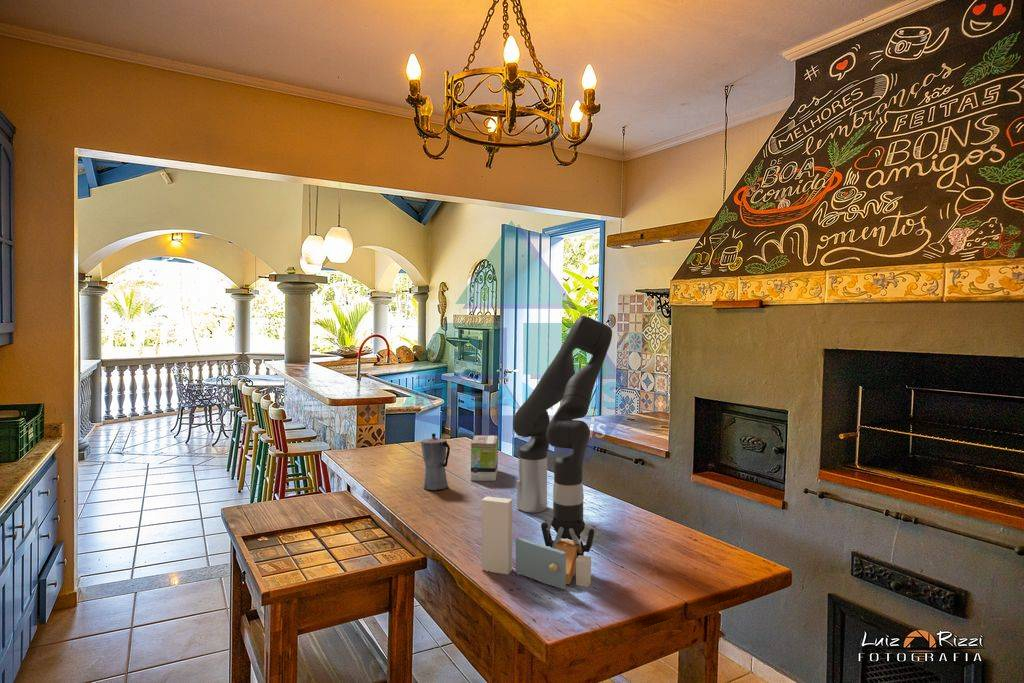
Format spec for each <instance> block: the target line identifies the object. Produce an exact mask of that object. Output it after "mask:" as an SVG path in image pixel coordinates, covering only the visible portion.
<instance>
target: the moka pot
mask: <svg viewBox="0 0 1024 683" xmlns="http://www.w3.org/2000/svg"><path fill="white" fill-rule="evenodd" d="M436 435H437V433H435V432H434V433H431V437H430V438H424V439H422V440H421V441H420V445H421V451H422V457H423V462H424V467H425V468H424V477H423V489H424V488H425V490H428V491H438V490H445V489H447V488H448V487H449V486H448V485H449V484H448V480H447V478H448V477H447V473H446V467H448V460H449V457H450V450H451V446H450V445H449V444H448V441H447V440H446V439H445V438H439V437H436Z"/></svg>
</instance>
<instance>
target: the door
mask: <svg viewBox="0 0 1024 683" xmlns="http://www.w3.org/2000/svg"><path fill="white" fill-rule="evenodd" d="M515 573H517V574H520V575H522V576H525V577H528V578H531V579H533V580H537V581H539V582H542V583H544V584H547V585H550V586H553V587H556V588H557V589H560V590H564V589H566V587H567V584H566V552H564V551H560V550H557V549H554V548H551V547H549V546H546V545H544V544H541V543H537V542H535V541H532V540H528V539H525V538H522V537H517V538H515Z"/></svg>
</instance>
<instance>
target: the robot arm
mask: <svg viewBox="0 0 1024 683" xmlns="http://www.w3.org/2000/svg"><path fill="white" fill-rule="evenodd" d="M612 338H613V330H612V327H610V326H609V325H607V324H605V323H603V322H600V321H598V320H596V319H593V318H592V317H590V316H587V315H581V316H579V317H578V318H577V319H576V320H575V321H574V322H573V324H572V326H571V328H570V329H569V331H568V334H567V335H566V337H565V339H564V341H563V343H562V344H561V347H560V349H559V350H558V352H557V354H556V355H555V357H554V358H553V360H552V361H551V363H550V364H549V365H548V367H547V368H546V370H545V371H544V373H543V375H542V376H541V378H540V379H539V381H538V383H537V385H536V386H535V387H534V389H533V390H532V391H531V393H530V395H529V396H528V397H527V399H526V400H525V401H524V402H523V403H522V404H521V406H520V407H519V408H518V409H517V410H516V412H515V414H514V416H513V420H512V428H513V431H514V433H515V434H516V436H519V437H521V438H530V439H529V440H528V441H527V442H526V443H525V444H523V445H521V446H520V448H519V450H518V479H517V481H516V509H517V510H518V511H519V510H520V511H521V512H525V513H542V512H545V511H546V510H547V509H548V451H549V449H550V448H549V447H550V446H551V447H553V448H561V449H562V448H563V449H570V450H572V454H567V455H560V456H557V457H555V459H554V461H553V462H554V463H553V477H554V478H553V486H552V487H553V488H552V516H553V517H552V520H547V519H544V520H543V521H542V523H541V524H540V528H541V532H542V536H543V540H544V544H545V546H548V547H551V548H554V549H555V548H556V545H557V544H559V542H560V541H561V539H563V540H571V541H573V542H574V545H575V546H576V547H577V551H578V552H577V558H578V556H579V555H581V556H585V553H590V550H591V548H592V545H593V541H594V538H595V534H596V529H597V527H596V526H594V525H592V526H590V525H587V524H586V522H585V520H584V499H585V498H584V496H585V495H584V485H583V465H584V460H585V458H584V457H585V454H586V451H587V447H588V443H589V440H590V435H591V432H590V431H591V430H590V427H589V425H588V424H587V423H586V422H585V421H583V420H576V419H582V418H584V417H586V416H587V414H588V412H589V409H590V408H589V407H590V404H591V401H592V396H593V391H594V387H595V384H596V381H597V379H598V376H599V374H600V372H601V369H602V366H603V364H604V362H605V358H606V357H607V353H608V351H609V348H610V346H611V343H612ZM575 349H578V350H580V351H583V352H584V353H587V354H589V355H592V357H591V359H590V360H589V362H588V363H587V364H586V365H585V366H583V367H582V368H580V369H579V370H578V371H576V370H575V365H574V358H573V356H574V355H573V354H574V350H575ZM560 402H561V403H560ZM558 403H560V405H559V407H558V408H557V410H556V412H555V413H554V415H553V416H552V418H551V419H550V415H549V413H548V410H550V409H551V408H552V407H554V406H555V405H557V404H558ZM552 528H553V530H554V531H555V533H556V536H555V538H554V540H553V538H552V533H551V529H552ZM583 531H585V535H586V536H587V539H586V544H584V542H583V538H582V533H583Z"/></svg>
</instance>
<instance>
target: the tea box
mask: <svg viewBox="0 0 1024 683" xmlns="http://www.w3.org/2000/svg"><path fill="white" fill-rule="evenodd" d="M498 453H499V436H498V435H481V434H480V435H473V438H472V441H471V443H470V481H474V482H475V481H477V482H479V481H481V482H482V481H483V482H495V481H496V479H497V476H498V470H499V469H498V468H499V467H498V465H499V463H498V462H499V456H498V455H499V454H498Z"/></svg>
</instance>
